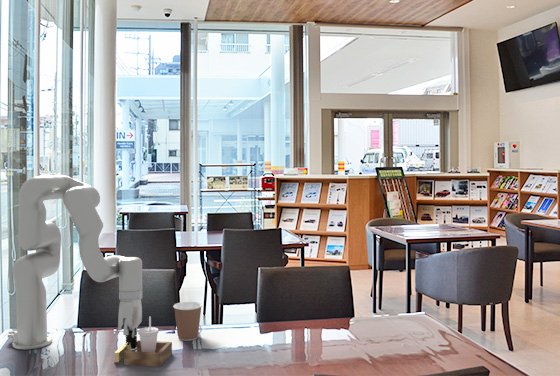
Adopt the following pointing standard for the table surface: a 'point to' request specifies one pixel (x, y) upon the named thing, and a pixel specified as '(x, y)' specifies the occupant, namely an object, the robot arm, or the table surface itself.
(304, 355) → the table surface
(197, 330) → the coffee cup
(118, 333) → the table surface
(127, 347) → the lock bar
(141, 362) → the cradle
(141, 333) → the smoothie
